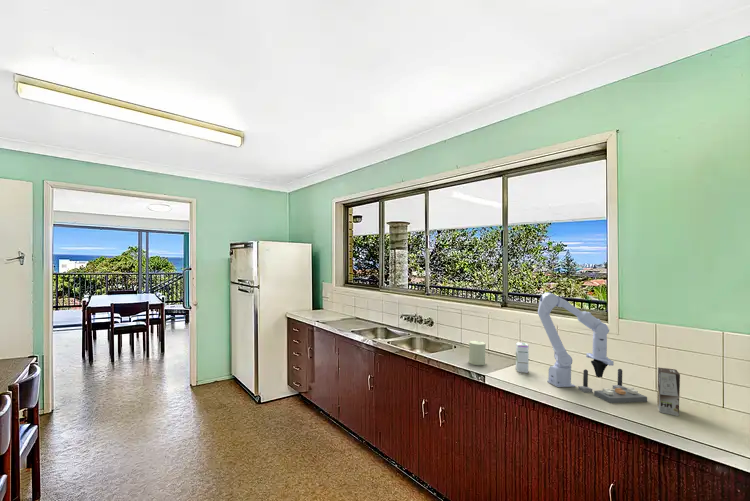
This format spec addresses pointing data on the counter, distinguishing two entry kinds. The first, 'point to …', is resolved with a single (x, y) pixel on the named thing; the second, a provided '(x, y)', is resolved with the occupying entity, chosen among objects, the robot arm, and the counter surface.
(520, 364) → the syrup box
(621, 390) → the middle paddle
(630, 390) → the right paddle
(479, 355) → the can
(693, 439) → the counter surface
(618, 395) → the switch panel
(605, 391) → the left paddle
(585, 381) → the grey peg stand
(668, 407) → the coffee box
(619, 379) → the grey post with base
